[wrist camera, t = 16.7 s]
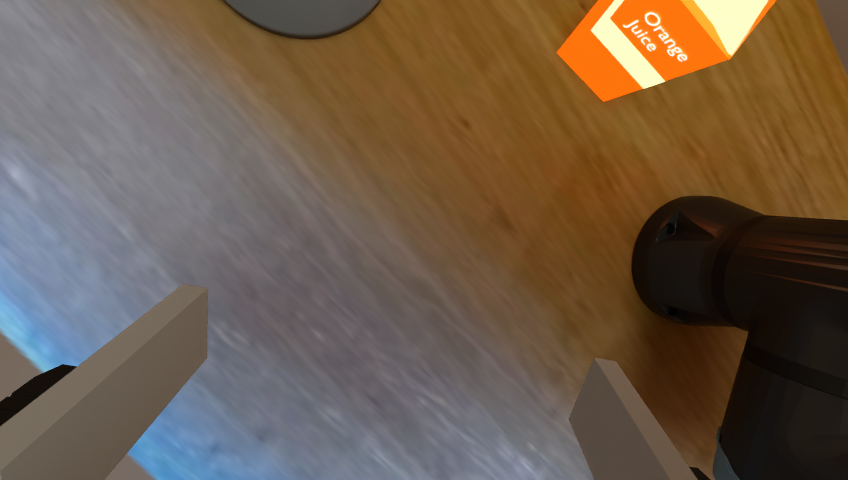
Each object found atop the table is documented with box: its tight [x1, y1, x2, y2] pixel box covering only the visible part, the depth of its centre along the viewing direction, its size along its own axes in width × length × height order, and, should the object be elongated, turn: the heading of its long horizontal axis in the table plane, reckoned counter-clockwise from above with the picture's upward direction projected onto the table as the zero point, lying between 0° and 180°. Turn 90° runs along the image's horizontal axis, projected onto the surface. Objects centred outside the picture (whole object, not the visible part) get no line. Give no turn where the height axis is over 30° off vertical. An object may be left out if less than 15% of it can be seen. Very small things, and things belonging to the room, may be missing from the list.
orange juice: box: [557, 0, 776, 102], centre depth 33 cm, size 8×9×20 cm
